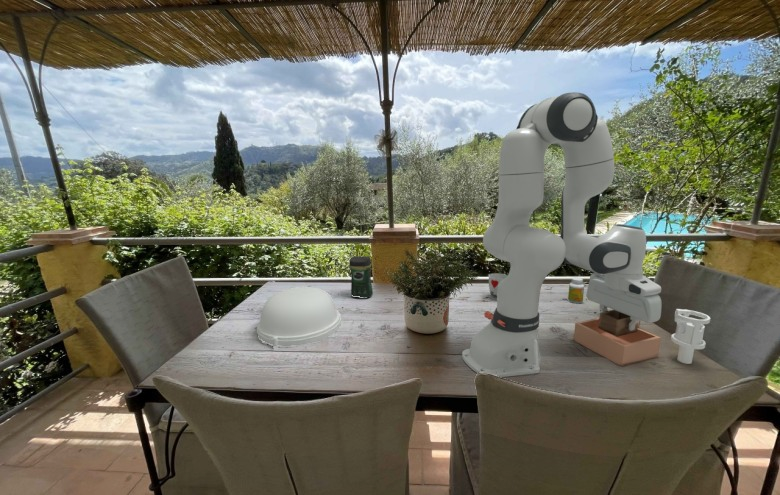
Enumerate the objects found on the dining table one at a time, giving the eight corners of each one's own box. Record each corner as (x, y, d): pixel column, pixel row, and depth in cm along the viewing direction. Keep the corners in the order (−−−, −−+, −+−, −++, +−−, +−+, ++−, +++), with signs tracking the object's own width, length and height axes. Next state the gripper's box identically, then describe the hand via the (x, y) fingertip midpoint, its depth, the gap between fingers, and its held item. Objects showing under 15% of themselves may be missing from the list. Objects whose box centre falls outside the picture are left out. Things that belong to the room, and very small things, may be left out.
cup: (484, 296, 146) (484, 274, 143) (500, 293, 148) (500, 272, 146) (495, 302, 138) (496, 280, 136) (511, 300, 140) (512, 277, 138)
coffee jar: (374, 293, 153) (372, 254, 150) (369, 299, 146) (367, 259, 142) (354, 292, 156) (352, 254, 152) (349, 298, 148) (346, 258, 144)
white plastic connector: (664, 352, 97) (671, 304, 94) (694, 356, 94) (703, 307, 91) (674, 365, 91) (682, 314, 87) (706, 370, 88) (716, 317, 85)
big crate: (622, 366, 91) (624, 346, 89) (573, 340, 106) (575, 322, 104) (657, 356, 95) (660, 337, 94) (606, 332, 110) (608, 315, 109)
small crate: (617, 336, 95) (618, 320, 94) (598, 328, 101) (599, 312, 100) (637, 331, 98) (639, 315, 96) (617, 323, 103) (619, 308, 102)
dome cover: (315, 355, 102) (311, 313, 99) (235, 344, 111) (230, 304, 108) (355, 314, 132) (353, 280, 129) (290, 307, 141) (287, 276, 138)
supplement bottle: (565, 301, 137) (567, 278, 135) (570, 297, 141) (572, 275, 139) (579, 304, 133) (582, 281, 131) (584, 300, 137) (586, 278, 135)
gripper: (583, 272, 104) (579, 312, 107) (651, 292, 85) (644, 341, 88) (598, 269, 106) (594, 309, 109) (668, 289, 87) (661, 337, 90)
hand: (617, 324), depth 99 cm, fingers closed on small crate, 6 cm apart
